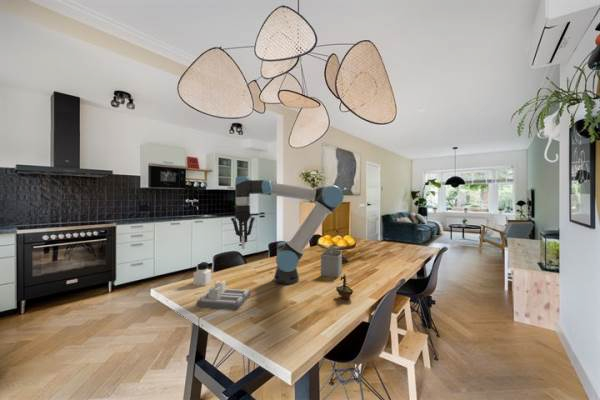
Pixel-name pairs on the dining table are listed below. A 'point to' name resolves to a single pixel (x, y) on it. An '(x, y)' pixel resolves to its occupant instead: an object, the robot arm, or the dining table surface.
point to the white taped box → (221, 285)
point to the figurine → (344, 289)
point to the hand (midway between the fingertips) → (243, 248)
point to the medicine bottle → (202, 274)
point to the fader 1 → (215, 293)
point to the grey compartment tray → (225, 299)
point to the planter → (331, 262)
